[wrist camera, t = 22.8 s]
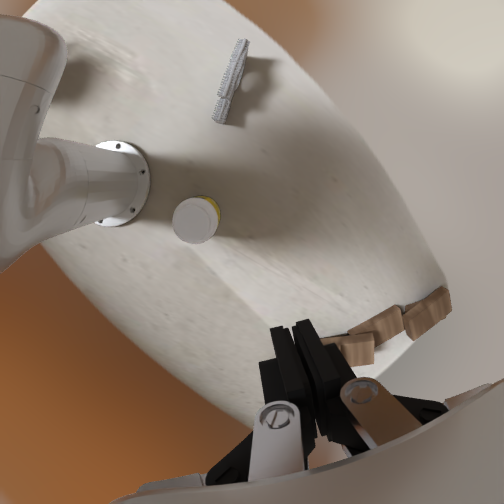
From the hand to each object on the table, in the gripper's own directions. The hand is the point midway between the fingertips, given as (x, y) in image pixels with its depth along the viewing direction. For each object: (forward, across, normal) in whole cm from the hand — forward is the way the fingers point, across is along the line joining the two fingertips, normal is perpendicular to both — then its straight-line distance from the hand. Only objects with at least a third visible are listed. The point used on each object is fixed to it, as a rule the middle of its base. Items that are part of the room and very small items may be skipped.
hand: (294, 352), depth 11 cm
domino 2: (+28, -13, +23) cm, 39 cm away
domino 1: (+28, -6, +22) cm, 36 cm away
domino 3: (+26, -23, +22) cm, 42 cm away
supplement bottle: (+29, +6, -4) cm, 30 cm away
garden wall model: (+29, -2, -21) cm, 36 cm away
